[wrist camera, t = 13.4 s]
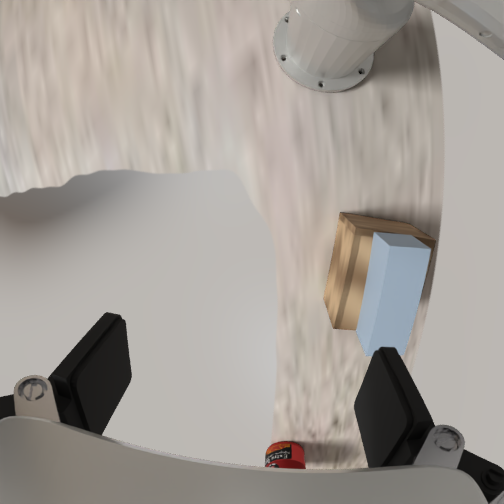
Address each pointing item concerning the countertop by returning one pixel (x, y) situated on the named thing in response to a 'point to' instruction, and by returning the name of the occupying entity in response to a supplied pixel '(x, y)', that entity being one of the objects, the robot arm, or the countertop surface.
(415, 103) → the countertop surface
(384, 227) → the cubby
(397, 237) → the bar
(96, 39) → the countertop surface
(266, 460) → the canned food
